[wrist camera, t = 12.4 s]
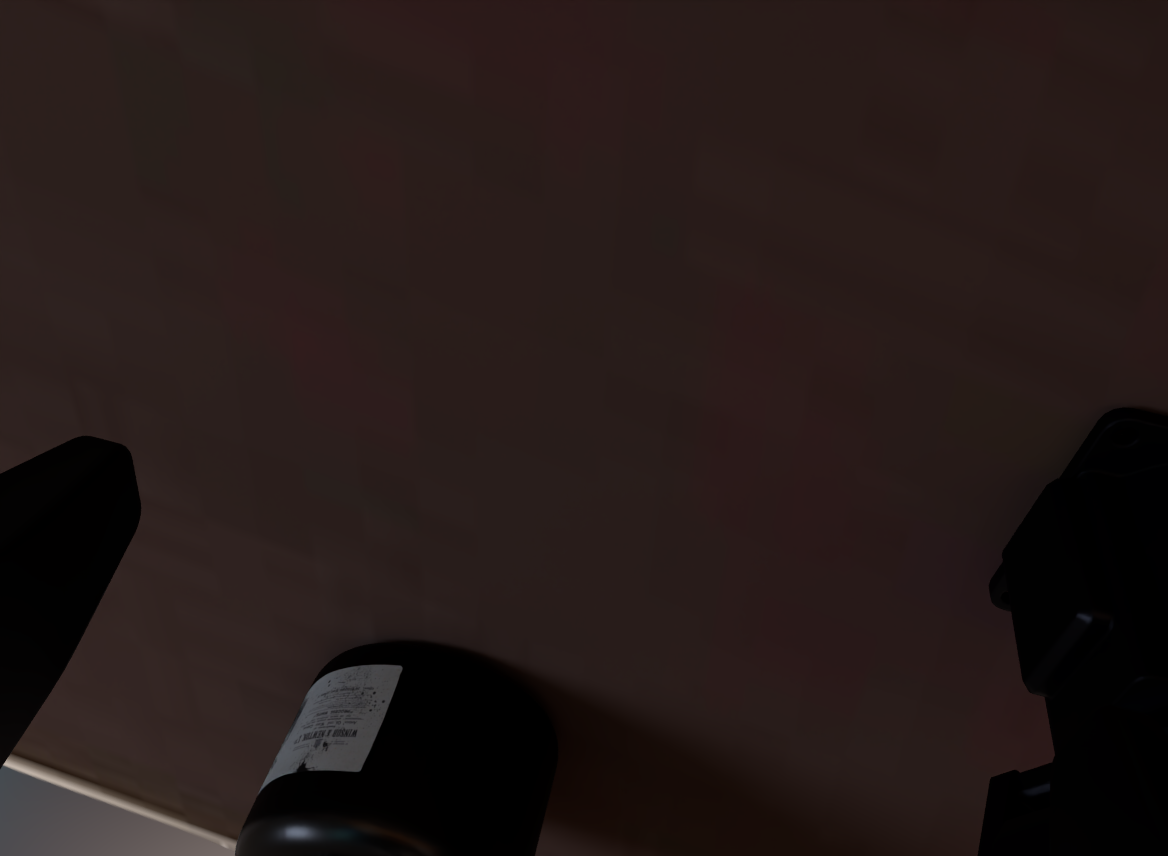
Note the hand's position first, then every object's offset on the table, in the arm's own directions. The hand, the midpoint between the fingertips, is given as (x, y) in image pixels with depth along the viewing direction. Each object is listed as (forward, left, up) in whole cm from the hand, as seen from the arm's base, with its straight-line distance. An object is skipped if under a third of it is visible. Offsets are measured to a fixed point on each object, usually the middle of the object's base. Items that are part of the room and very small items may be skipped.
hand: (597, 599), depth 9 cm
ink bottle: (+4, +24, -13) cm, 28 cm away
